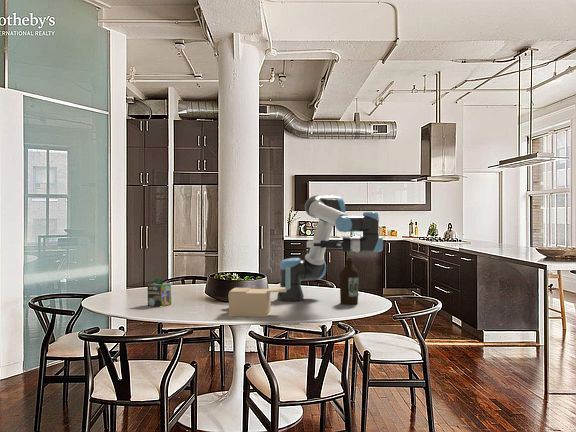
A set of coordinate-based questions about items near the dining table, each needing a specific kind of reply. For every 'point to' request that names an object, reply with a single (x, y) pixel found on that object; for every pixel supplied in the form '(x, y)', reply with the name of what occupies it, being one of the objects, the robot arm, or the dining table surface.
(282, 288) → the flap
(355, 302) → the olive oil
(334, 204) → the robot arm
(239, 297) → the carton
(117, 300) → the dining table surface
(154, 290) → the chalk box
